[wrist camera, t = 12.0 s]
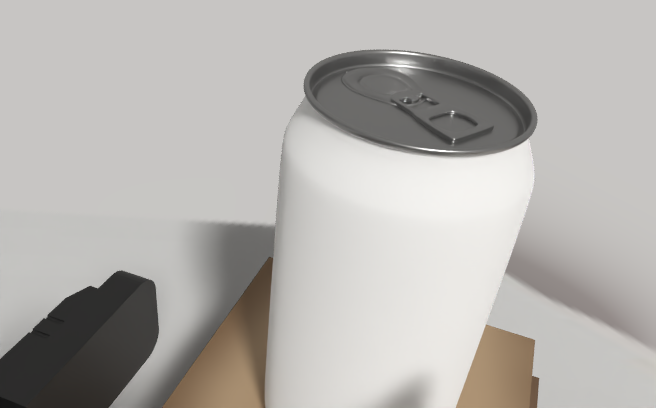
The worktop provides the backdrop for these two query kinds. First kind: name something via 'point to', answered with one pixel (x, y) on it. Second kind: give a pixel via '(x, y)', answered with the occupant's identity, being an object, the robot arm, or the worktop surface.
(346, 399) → the can
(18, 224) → the worktop surface
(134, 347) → the robot arm
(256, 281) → the tower base
